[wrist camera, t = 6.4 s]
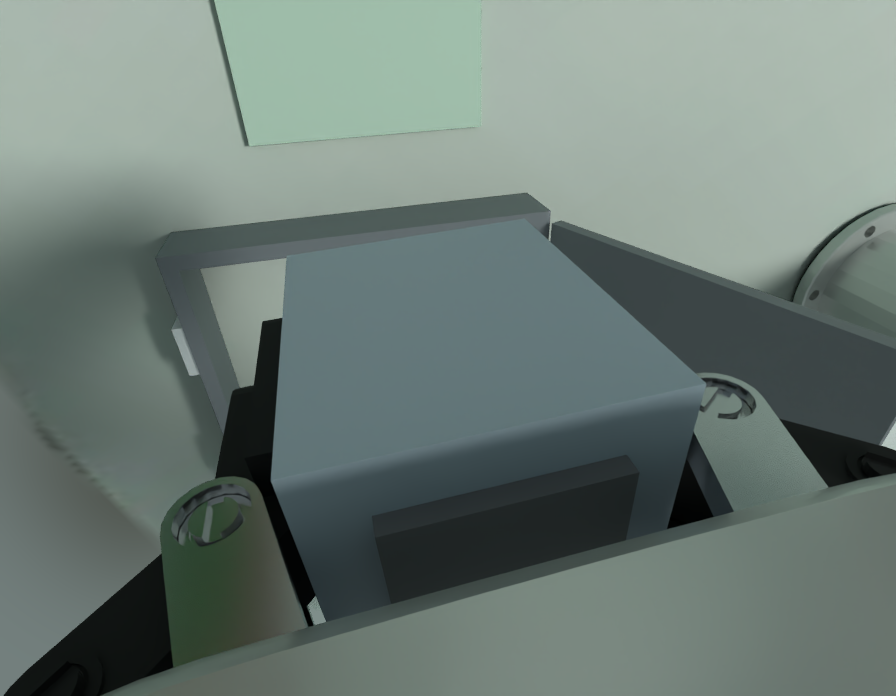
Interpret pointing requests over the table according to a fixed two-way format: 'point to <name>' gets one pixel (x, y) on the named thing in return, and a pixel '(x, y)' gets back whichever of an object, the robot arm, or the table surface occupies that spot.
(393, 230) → the case
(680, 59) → the table surface
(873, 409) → the lid
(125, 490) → the table surface
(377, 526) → the module
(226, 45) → the mat
